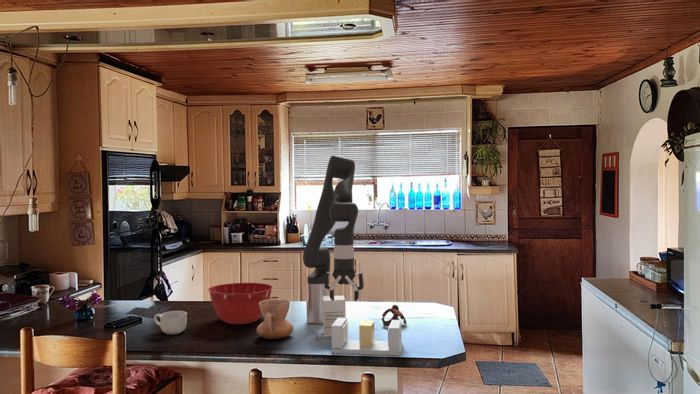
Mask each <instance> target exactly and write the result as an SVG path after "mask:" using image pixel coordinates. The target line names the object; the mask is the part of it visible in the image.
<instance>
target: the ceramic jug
mask: <svg viewBox="0 0 700 394" xmlns="http://www.w3.org/2000/svg"><path fill="white" fill-rule="evenodd" d="M290 306H291V301H290V300H289V299H286V298H281V299H279V298H269V299H268V300H264V301H261V302H260V303H259V307H260V310H261V313H262V318H263V319H264V320H263V321H262V322H261V323H260V324H258V326H257V327H256V333H257V334H258V336H259V337H261V338H263V339H268V340H269V339H270V340H277V339H280V340H281V339H283V338H287V337H289V336H290V335H291V334H292V333H293V332H294V326H293V324H292V323H291V322H289V321H288V320H287V319H286V318H287V316H288V313H289V310H290Z"/></svg>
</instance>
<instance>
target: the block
mask: <svg viewBox="0 0 700 394" xmlns="http://www.w3.org/2000/svg"><path fill="white" fill-rule="evenodd" d="M358 332H359V335H358V336H359V339H358V340H359V343H360V348H372V347H373V345H374V341H375V320H361V322H360V323H359V326H358Z"/></svg>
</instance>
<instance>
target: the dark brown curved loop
mask: <svg viewBox="0 0 700 394" xmlns="http://www.w3.org/2000/svg"><path fill="white" fill-rule="evenodd" d="M388 313H392V317H391V318H390V319H389V320H387V321H385V317H386V316H387V315H388ZM381 316H382V318H381V321H382V325H383V326H384V327H389V325H390V323H391V321H392V320H403V322H402V323H403V325H404V326H407V320H406V318H405V316H404V314H403V313H402V312H401V310H400V308H399V306H398V305H397V304H393V305H392V306H391V308H388V309H385V310H384V312H383V313H382V315H381ZM399 317H400V318H399Z"/></svg>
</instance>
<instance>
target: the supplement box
mask: <svg viewBox="0 0 700 394" xmlns="http://www.w3.org/2000/svg"><path fill="white" fill-rule="evenodd" d="M346 308H347V307H346V299H345V296H344V295H334V301H332V300H331V299H330V295H328V296H323V323H322V330H323V331H322V332H323V335H325V336H332V327H331V326H332V324H333V323H334V322H335V321H336V319H337V318H347V317H346V315H347V313H346V312H347V311H346V310H347V309H346Z"/></svg>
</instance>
